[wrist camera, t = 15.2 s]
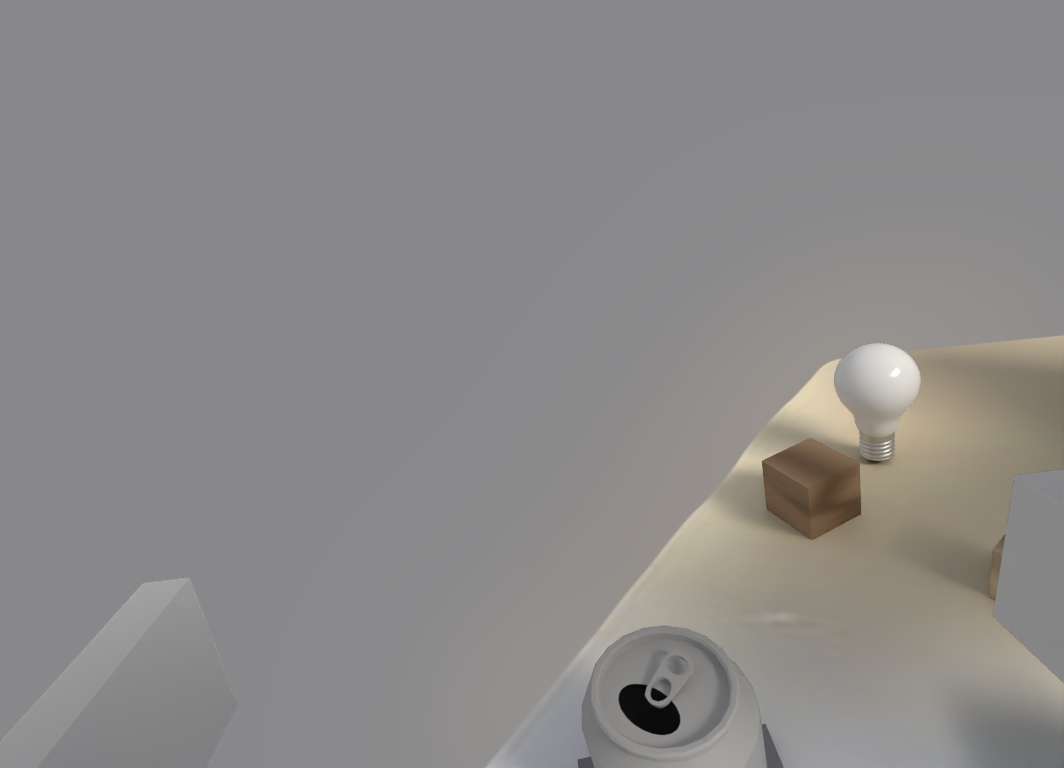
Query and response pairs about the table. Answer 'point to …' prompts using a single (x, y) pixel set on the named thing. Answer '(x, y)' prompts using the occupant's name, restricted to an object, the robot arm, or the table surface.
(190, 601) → the robot arm
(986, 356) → the table surface
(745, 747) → the can
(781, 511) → the walnut block
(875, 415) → the lightbulb
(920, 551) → the table surface
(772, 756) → the coaster
